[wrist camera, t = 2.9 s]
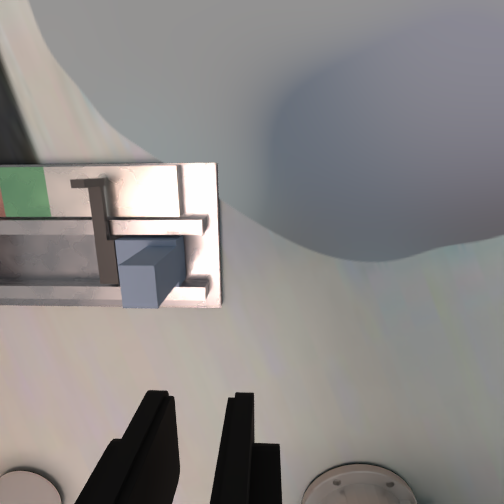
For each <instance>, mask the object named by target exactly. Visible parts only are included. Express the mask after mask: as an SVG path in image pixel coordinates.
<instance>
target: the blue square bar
mask: <svg viewBox="0 0 504 504" xmlns="http://www.w3.org/2000/svg"><path fill="white" fill-rule="evenodd" d="M115 246H116V255H117V263H118V272H119V280H120V287H121V296H122V304H123V308H159V306H160V305H161V304H162V303H163V301H164V300H165V299H166V297H167V296H168V295H169V294H170V292H171V291H172V290H173V288H174V287H180V286H181V284H182V283H183V281H184V280H185V279H186V268H185V252H184V236H183V235H125V236H123V237H121V238H119V239H117V240H115Z"/></svg>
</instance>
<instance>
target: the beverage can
mask: <svg viewBox="0 0 504 504" xmlns="http://www.w3.org/2000/svg"><path fill="white" fill-rule="evenodd" d="M0 504H61V498H60V495H59V493H58V491H57V489H56V488H55V487H54V486H53V485H52V484H51V483H50V482H49V481H48V480H47V479H45V478H44V477H42V476H40V475H38V474H35V473H32V472H27V471H13V472H9V473H7V474H4V475H3V476H1V477H0Z"/></svg>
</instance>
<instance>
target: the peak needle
mask: <svg viewBox="0 0 504 504" xmlns="http://www.w3.org/2000/svg"><path fill="white" fill-rule="evenodd" d="M70 183H71V188H88V192H89V200H90V207H91V215H92V222H93V230H94V237H95V247H96V255H97V262H98V270H99V277H100V284H119V283H120V280H119V272H118V263H117V255H116V246H115V240H117V239H119V238H121V237H123V236H124V235H109V228H108V219H107V211H106V203H105V195H104V186H105V179H104V178H86V179H70Z"/></svg>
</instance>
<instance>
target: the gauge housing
mask: <svg viewBox="0 0 504 504" xmlns="http://www.w3.org/2000/svg"><path fill="white" fill-rule="evenodd" d="M86 178H104V179H105V186H104V195H105V203H106V211H107V219H108V228H109V235H124V236H125V235H183V236H184V252H185V268H186V279H185V280H184V281H183V283H182V284H181V286H180V287H174V288H173V290H172V291H171V292H170V294H169V295H168V296H167V297H166V299H165V300H164V301H163V303H162V304H161V305H160V306H159V307H207V308H221V305H222V283H221V254H220V225H219V196H218V167H217V163H146V164H46V165H0V305H35V306H121V307H123V304H122V296H121V287H120V283H119V284H100V277H99V270H98V262H97V255H96V247H95V237H94V230H93V222H92V215H91V207H90V200H89V192H88V188H71V183H70V179H86Z"/></svg>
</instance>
